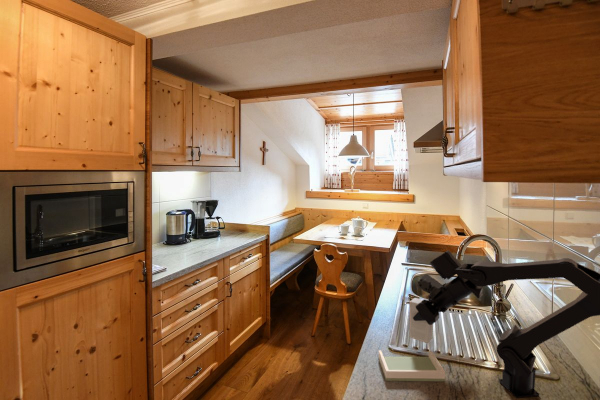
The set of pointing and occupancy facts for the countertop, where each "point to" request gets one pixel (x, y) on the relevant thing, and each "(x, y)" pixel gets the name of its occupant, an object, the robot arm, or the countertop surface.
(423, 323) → the skincare box
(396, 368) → the pad
